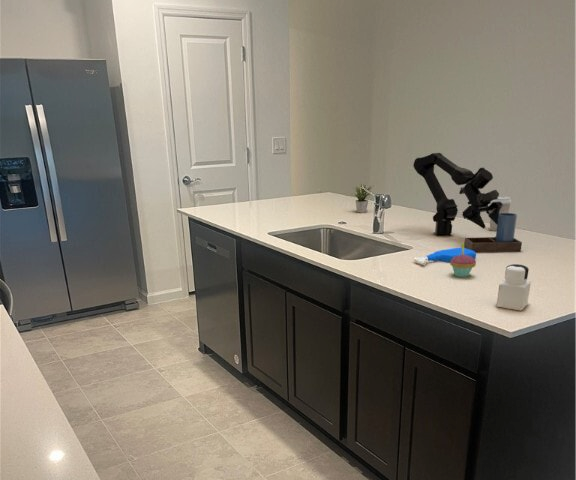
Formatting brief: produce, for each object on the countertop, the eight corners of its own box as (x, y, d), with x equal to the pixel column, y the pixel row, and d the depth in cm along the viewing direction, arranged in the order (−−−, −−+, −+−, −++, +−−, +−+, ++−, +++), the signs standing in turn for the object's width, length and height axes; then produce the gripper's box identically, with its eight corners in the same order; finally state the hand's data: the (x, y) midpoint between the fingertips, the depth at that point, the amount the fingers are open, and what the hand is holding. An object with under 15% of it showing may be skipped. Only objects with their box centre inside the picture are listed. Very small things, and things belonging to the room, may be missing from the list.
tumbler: (494, 247, 222) (498, 215, 217) (494, 244, 228) (498, 212, 223) (512, 248, 219) (517, 216, 214) (512, 245, 225) (516, 213, 220)
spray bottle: (460, 246, 217) (408, 254, 208) (479, 252, 207) (425, 260, 199) (459, 253, 218) (407, 261, 210) (478, 259, 209) (425, 268, 200)
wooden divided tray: (471, 252, 219) (472, 243, 218) (463, 246, 229) (464, 237, 227) (520, 251, 219) (522, 242, 218) (510, 245, 229) (512, 236, 227)
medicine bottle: (502, 300, 166) (508, 261, 161) (527, 304, 162) (533, 264, 157) (496, 306, 160) (501, 267, 156) (521, 311, 156) (527, 270, 152)
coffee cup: (507, 228, 261) (512, 196, 255) (508, 232, 252) (512, 199, 247) (486, 227, 264) (490, 195, 258) (486, 231, 255) (490, 198, 250)
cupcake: (445, 272, 194) (448, 238, 190) (468, 271, 195) (472, 237, 190) (454, 279, 186) (458, 244, 182) (478, 278, 187) (482, 243, 182)
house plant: (376, 214, 301) (378, 183, 295) (351, 214, 301) (352, 184, 295) (373, 209, 314) (374, 180, 308) (349, 210, 314) (350, 181, 308)
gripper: (471, 185, 219) (489, 217, 215) (502, 181, 228) (520, 212, 224) (454, 202, 229) (471, 233, 224) (484, 198, 237) (502, 228, 233)
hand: (492, 226), depth 226 cm, fingers open, 9 cm apart
